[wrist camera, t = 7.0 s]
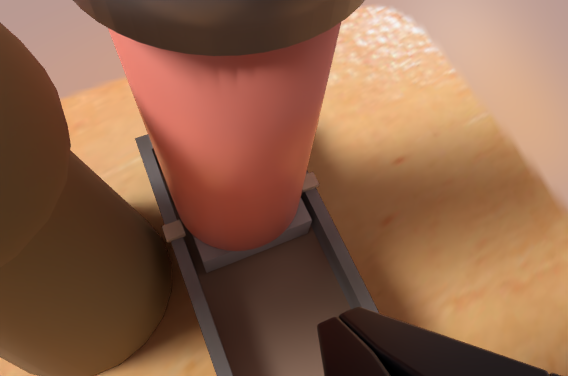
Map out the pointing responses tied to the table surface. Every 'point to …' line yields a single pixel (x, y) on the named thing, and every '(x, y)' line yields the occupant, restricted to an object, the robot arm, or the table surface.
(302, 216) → the plug
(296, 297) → the track
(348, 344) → the robot arm
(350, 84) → the table surface
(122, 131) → the table surface
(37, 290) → the olive rounded upright piece
